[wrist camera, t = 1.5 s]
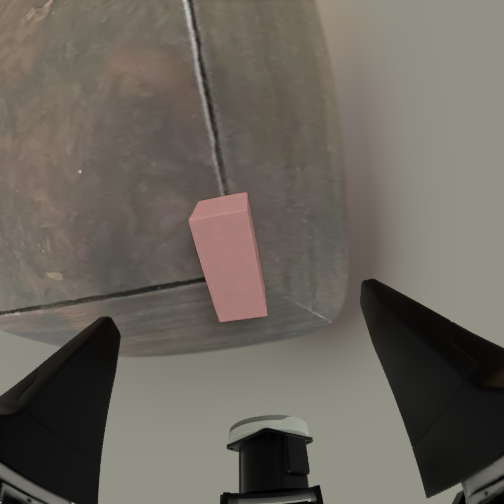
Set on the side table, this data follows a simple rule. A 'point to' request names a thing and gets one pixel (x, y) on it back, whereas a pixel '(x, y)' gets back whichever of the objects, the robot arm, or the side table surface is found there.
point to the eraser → (229, 256)
